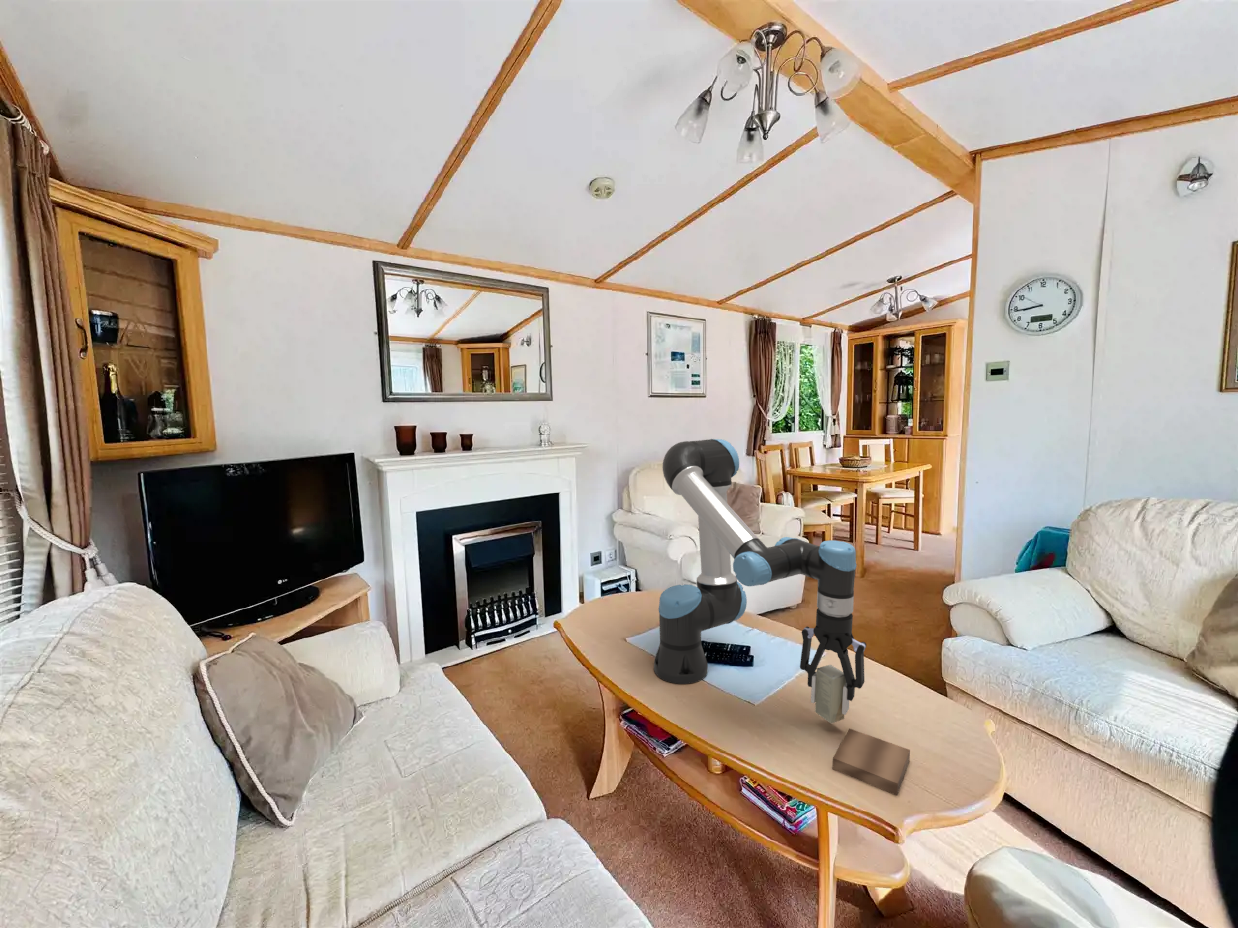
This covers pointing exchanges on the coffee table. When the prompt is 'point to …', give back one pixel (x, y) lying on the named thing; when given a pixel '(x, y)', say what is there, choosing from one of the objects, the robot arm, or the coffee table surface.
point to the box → (829, 693)
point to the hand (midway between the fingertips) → (829, 705)
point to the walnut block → (872, 761)
